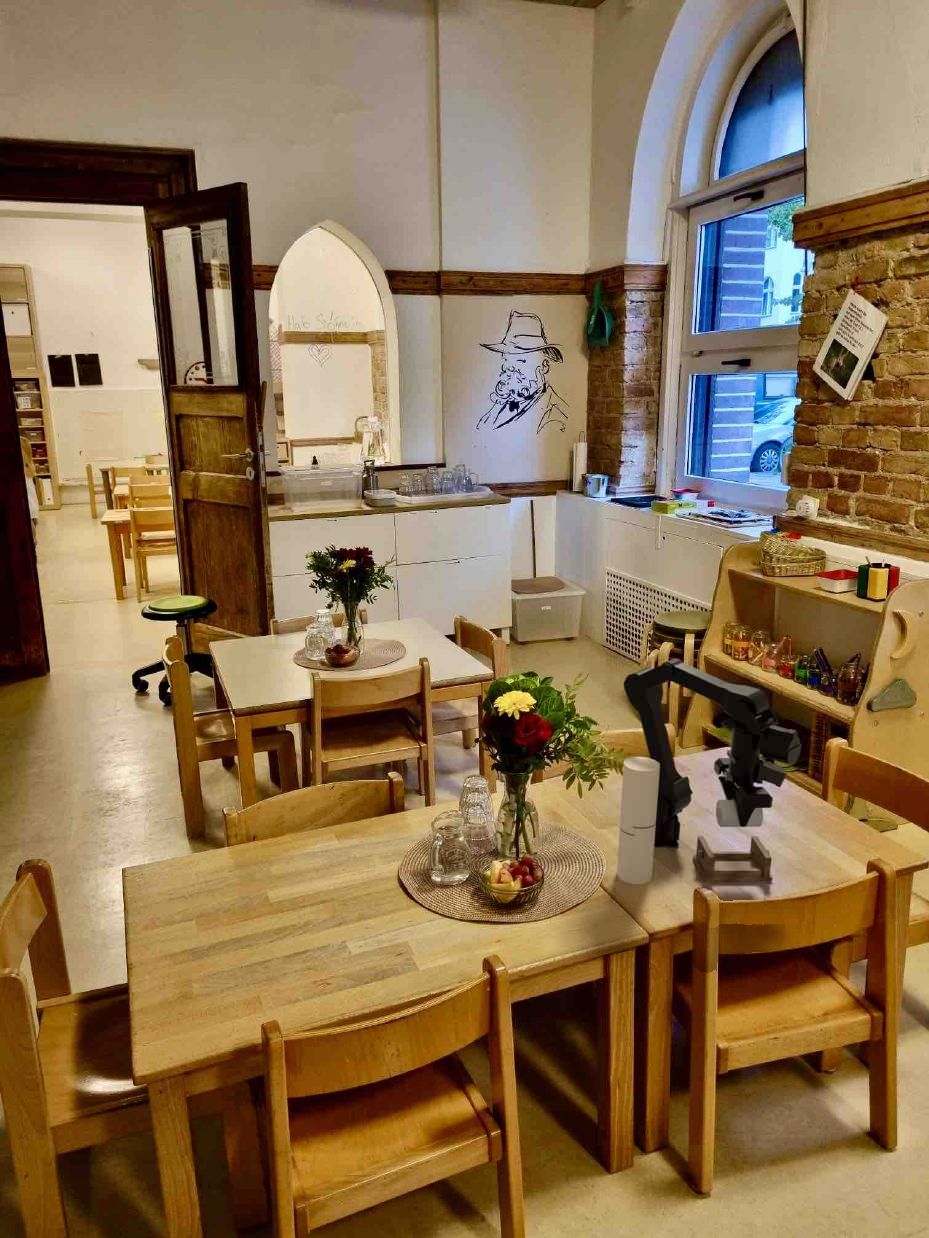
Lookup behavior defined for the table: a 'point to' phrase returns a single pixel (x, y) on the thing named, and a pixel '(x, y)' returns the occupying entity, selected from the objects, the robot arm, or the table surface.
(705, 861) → the holder
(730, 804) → the roll
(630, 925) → the table surface
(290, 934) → the table surface
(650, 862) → the cylindrical container
